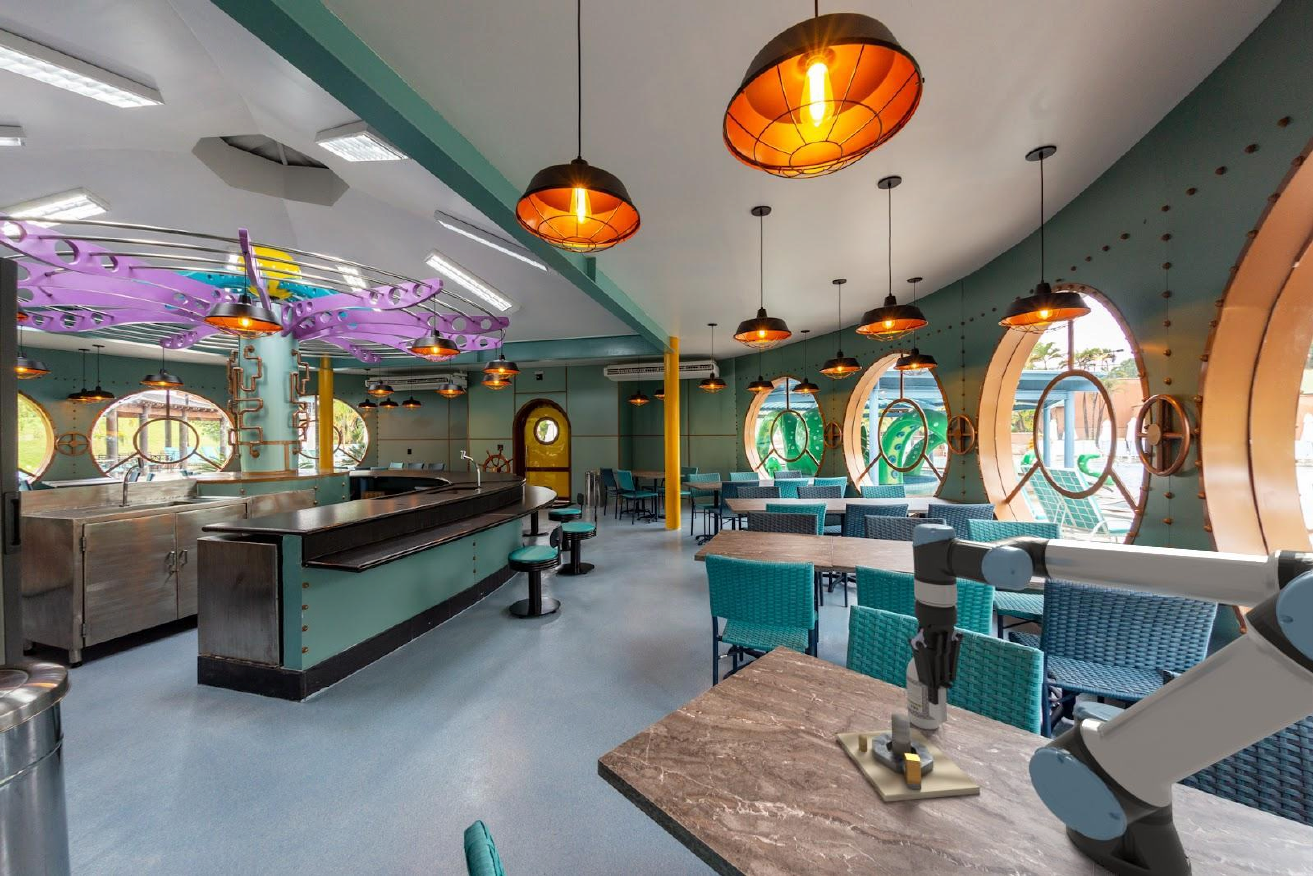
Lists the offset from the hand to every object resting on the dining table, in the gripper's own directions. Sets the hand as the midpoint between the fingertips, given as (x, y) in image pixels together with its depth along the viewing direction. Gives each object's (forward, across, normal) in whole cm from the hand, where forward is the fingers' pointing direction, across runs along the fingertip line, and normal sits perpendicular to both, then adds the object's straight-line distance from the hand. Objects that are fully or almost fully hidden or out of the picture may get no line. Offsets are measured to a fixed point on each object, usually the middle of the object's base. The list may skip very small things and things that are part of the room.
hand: (938, 718), depth 94 cm
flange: (+13, +1, -7) cm, 15 cm away
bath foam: (+15, -18, -19) cm, 30 cm away
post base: (+15, 0, -9) cm, 17 cm away
